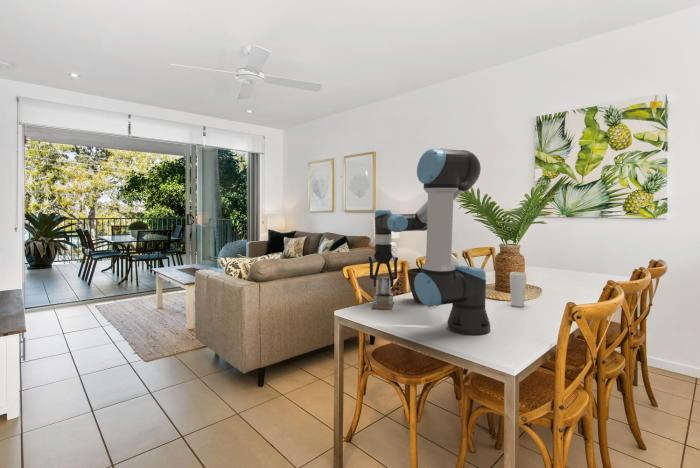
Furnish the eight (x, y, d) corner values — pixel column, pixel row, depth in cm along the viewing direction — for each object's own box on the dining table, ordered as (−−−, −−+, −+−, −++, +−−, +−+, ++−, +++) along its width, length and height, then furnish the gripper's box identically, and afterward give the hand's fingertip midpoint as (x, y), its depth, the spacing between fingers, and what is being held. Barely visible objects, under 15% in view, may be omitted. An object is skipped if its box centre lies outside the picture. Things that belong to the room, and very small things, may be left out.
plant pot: (421, 310, 161) (421, 274, 160) (400, 303, 174) (400, 269, 173) (446, 305, 169) (446, 271, 168) (424, 299, 182) (424, 266, 180)
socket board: (391, 313, 158) (391, 301, 157) (371, 312, 159) (370, 300, 159) (394, 304, 172) (394, 293, 172) (375, 303, 174) (374, 292, 174)
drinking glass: (517, 303, 171) (518, 271, 170) (529, 306, 164) (529, 273, 163) (506, 304, 169) (506, 272, 168) (517, 308, 162) (517, 274, 161)
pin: (388, 304, 167) (388, 278, 166) (379, 304, 168) (379, 278, 167) (388, 302, 171) (389, 277, 170) (380, 302, 171) (380, 276, 171)
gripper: (403, 242, 169) (403, 292, 171) (364, 242, 173) (365, 291, 174) (403, 244, 162) (403, 296, 164) (362, 244, 165) (362, 295, 167)
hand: (383, 293), depth 169 cm, fingers open, 5 cm apart
